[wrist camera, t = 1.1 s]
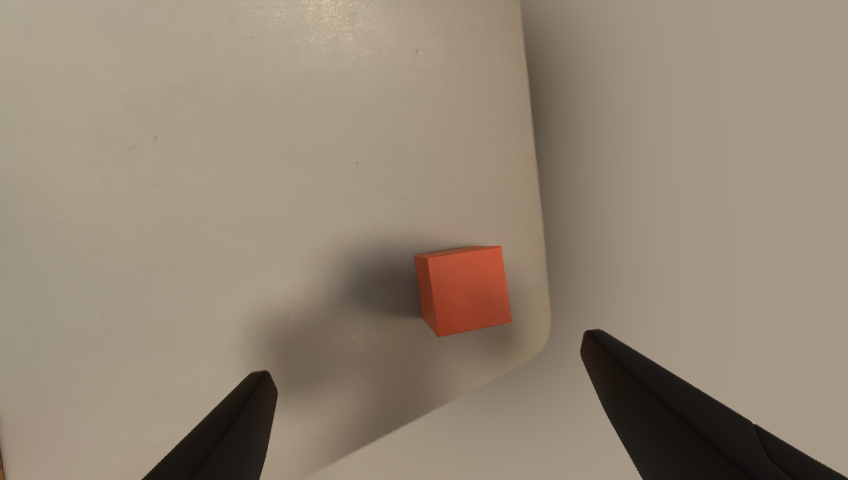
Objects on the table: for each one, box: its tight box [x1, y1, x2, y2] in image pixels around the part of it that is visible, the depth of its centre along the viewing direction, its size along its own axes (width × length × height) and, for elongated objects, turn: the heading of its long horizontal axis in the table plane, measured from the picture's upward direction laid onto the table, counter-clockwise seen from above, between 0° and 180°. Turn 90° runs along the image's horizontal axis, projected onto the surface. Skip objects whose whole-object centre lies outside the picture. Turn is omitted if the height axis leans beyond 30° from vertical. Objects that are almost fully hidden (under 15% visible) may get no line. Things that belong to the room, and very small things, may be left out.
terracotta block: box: [414, 246, 512, 337], centre depth 22 cm, size 5×5×5 cm
